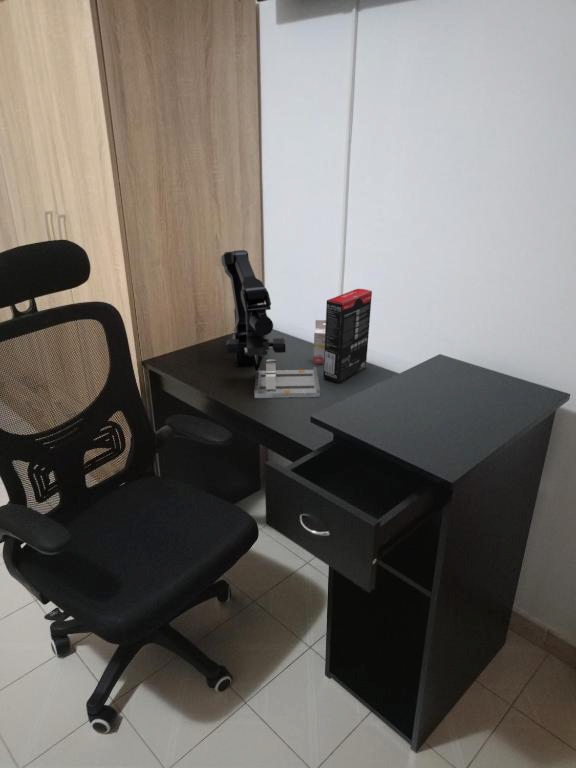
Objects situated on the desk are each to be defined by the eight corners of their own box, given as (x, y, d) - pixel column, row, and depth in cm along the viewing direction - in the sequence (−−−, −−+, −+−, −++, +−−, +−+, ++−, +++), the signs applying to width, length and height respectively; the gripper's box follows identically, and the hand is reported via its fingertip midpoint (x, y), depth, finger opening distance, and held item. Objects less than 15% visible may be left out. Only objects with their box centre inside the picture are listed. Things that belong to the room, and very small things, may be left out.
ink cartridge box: (313, 364, 190) (313, 324, 184) (314, 358, 195) (314, 319, 188) (337, 365, 189) (339, 324, 183) (338, 359, 194) (339, 319, 187)
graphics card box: (351, 362, 191) (354, 286, 179) (368, 367, 187) (373, 290, 175) (322, 379, 179) (324, 299, 167) (340, 385, 175) (342, 303, 163)
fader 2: (265, 389, 168) (265, 375, 166) (266, 383, 172) (265, 370, 170) (275, 389, 168) (275, 375, 166) (275, 383, 172) (275, 370, 170)
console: (254, 398, 167) (254, 390, 166) (256, 374, 183) (256, 367, 182) (319, 397, 168) (319, 389, 166) (316, 373, 183) (316, 366, 182)
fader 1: (266, 377, 176) (266, 363, 174) (266, 371, 180) (266, 359, 178) (276, 376, 176) (275, 363, 174) (276, 371, 180) (275, 358, 178)
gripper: (222, 334, 163) (226, 381, 170) (285, 333, 163) (285, 380, 170) (226, 321, 173) (229, 366, 180) (285, 321, 173) (285, 365, 180)
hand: (257, 370), depth 178 cm, fingers closed
